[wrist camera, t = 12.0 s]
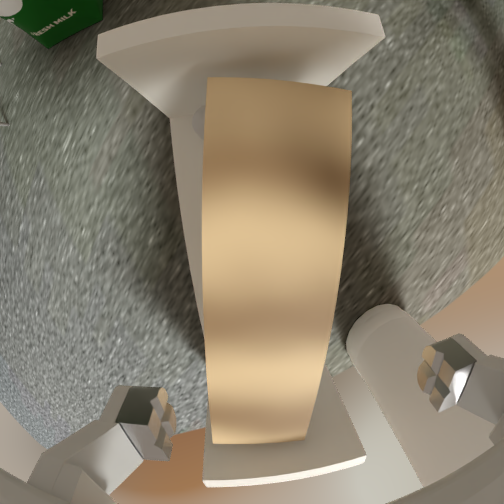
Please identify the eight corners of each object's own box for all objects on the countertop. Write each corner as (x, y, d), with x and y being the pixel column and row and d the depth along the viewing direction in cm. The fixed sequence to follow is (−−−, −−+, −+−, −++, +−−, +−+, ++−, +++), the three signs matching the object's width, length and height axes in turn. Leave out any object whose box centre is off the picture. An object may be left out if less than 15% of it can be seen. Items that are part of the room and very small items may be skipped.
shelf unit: (301, 93, 21) (378, 14, 7) (317, 356, 27) (363, 462, 14) (170, 107, 20) (98, 34, 7) (213, 370, 27) (206, 487, 14)
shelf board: (212, 96, 12) (207, 77, 9) (329, 105, 13) (351, 90, 10) (214, 412, 18) (212, 443, 15) (296, 410, 18) (304, 440, 15)
